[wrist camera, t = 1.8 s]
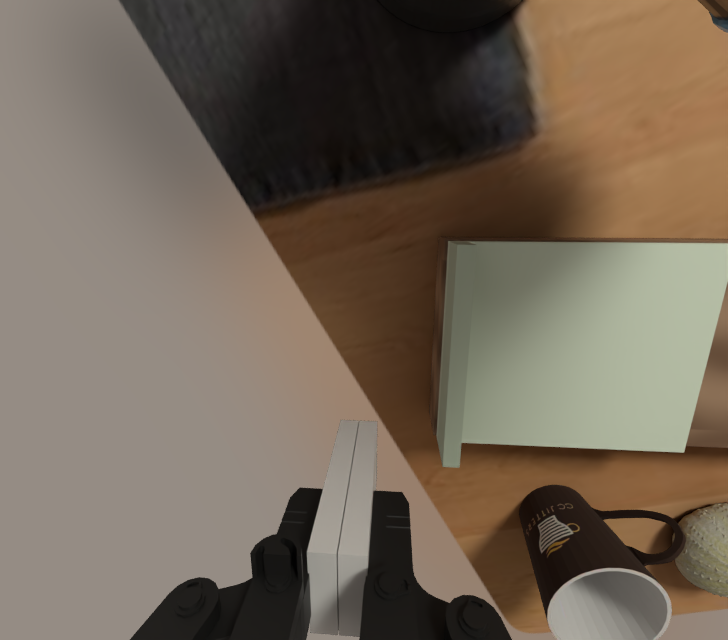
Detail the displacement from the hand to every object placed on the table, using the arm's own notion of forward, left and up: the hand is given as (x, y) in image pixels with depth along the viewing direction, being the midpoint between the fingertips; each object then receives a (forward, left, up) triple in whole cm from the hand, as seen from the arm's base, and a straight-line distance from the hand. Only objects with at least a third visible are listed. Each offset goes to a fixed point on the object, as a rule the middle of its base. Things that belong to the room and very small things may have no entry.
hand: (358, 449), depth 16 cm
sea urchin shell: (+20, +33, -19) cm, 43 cm away
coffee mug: (+18, +19, -19) cm, 32 cm away
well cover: (0, +15, -14) cm, 20 cm away
